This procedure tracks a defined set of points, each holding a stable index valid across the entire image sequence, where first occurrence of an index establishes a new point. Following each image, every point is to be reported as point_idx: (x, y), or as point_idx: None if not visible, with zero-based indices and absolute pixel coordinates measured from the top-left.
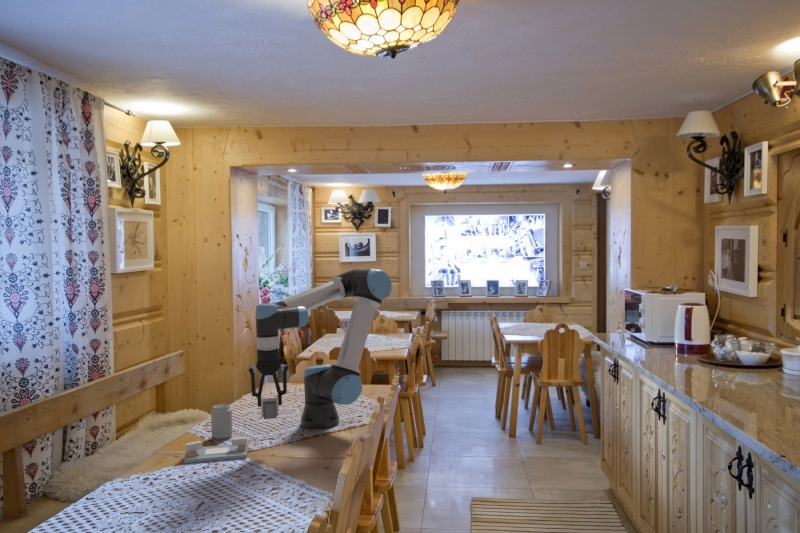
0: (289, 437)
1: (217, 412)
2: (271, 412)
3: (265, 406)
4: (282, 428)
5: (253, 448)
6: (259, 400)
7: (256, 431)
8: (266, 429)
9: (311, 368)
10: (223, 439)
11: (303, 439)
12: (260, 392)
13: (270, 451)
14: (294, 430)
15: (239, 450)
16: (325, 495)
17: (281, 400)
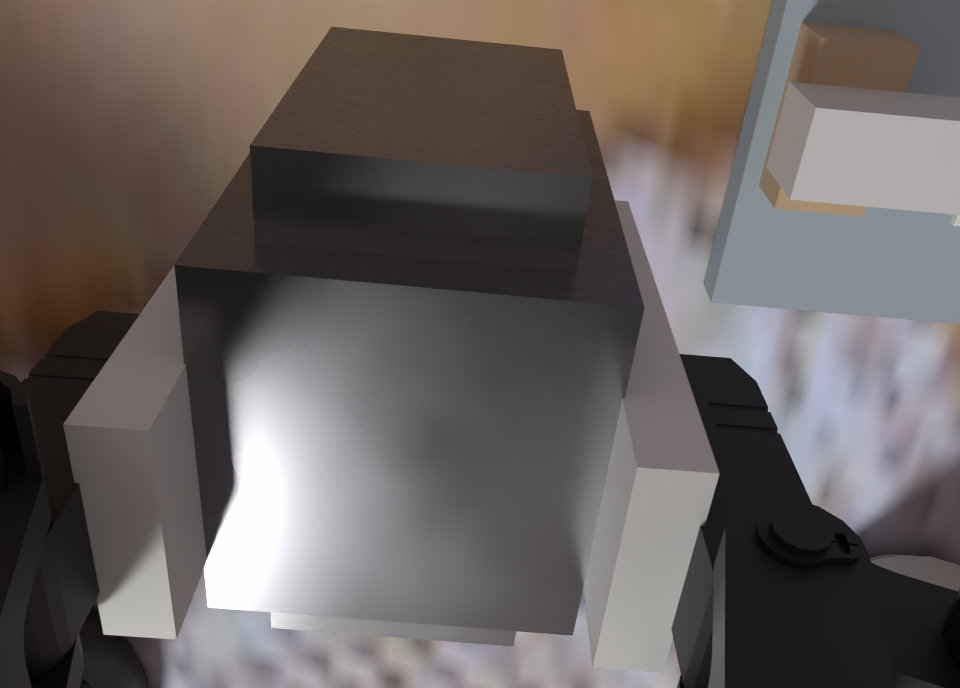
0: None
1: None
2: (398, 67)
3: (567, 147)
4: (317, 653)
5: (657, 203)
6: (735, 468)
7: (555, 652)
8: (462, 670)
9: None
10: (886, 554)
11: (86, 308)
12: (781, 661)
13: (474, 17)
14: (203, 578)
15: (882, 31)
16: None
17: (33, 384)
